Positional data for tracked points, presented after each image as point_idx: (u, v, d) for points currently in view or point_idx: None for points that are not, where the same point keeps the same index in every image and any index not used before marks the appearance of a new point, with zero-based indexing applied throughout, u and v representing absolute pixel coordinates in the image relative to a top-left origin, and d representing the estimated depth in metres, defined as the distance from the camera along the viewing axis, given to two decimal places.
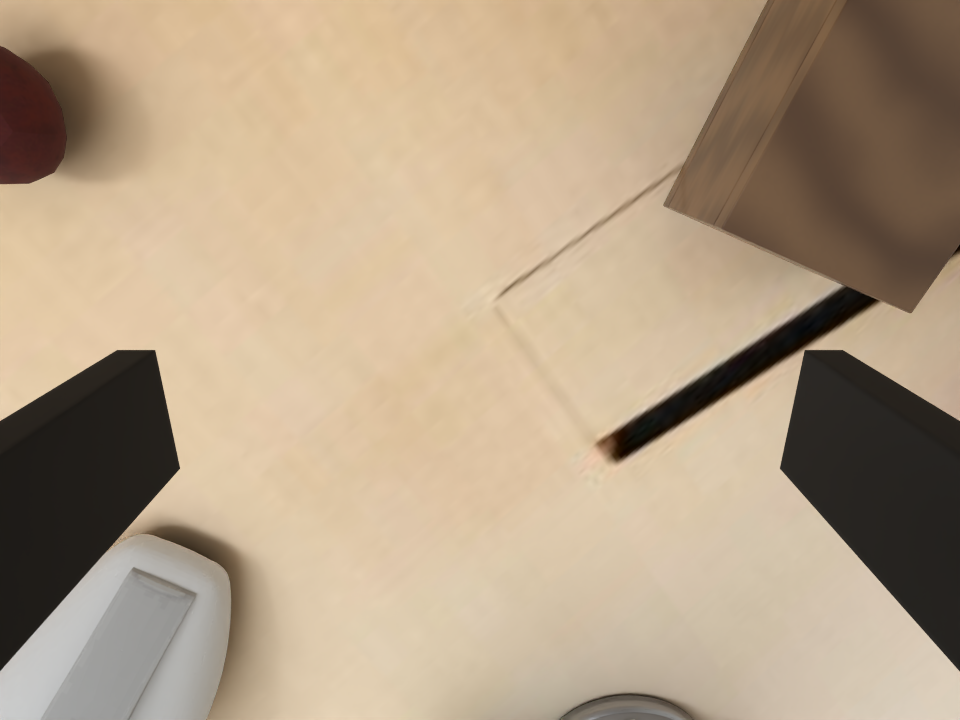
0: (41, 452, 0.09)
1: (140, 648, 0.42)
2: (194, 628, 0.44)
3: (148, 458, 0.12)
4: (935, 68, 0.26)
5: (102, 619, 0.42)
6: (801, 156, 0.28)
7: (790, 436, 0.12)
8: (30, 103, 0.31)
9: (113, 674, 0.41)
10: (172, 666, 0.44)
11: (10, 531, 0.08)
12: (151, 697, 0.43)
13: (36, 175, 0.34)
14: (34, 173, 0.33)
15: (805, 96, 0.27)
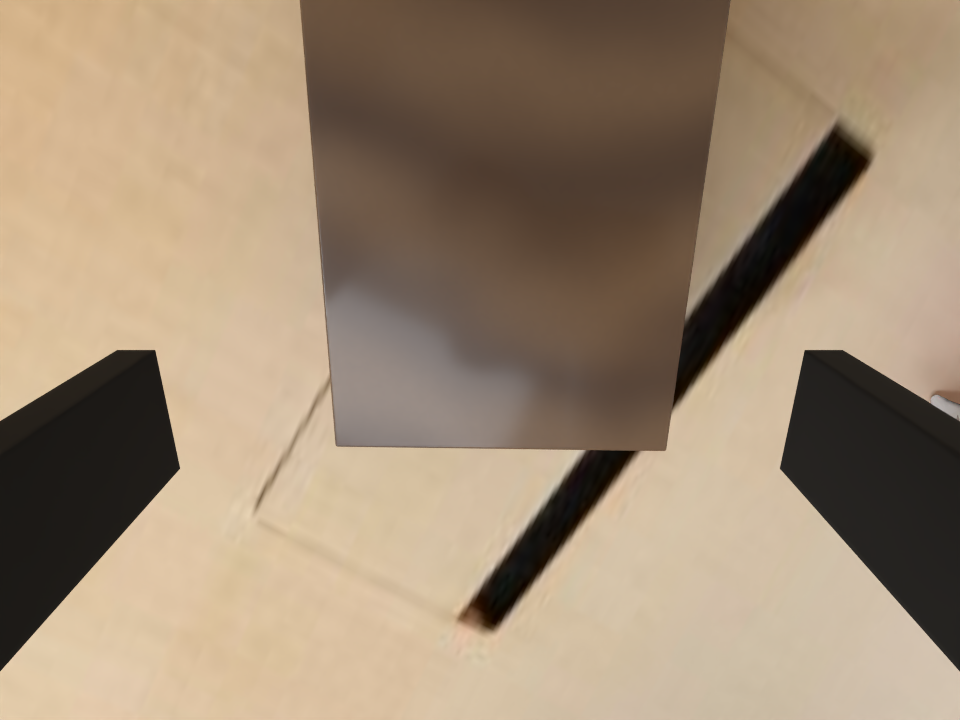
0: (41, 452, 0.09)
1: None
2: None
3: (148, 458, 0.12)
4: (494, 144, 0.17)
5: None
6: (380, 326, 0.19)
7: (790, 436, 0.12)
8: None
9: None
10: None
11: (10, 531, 0.08)
12: None
13: None
14: None
15: (335, 253, 0.18)
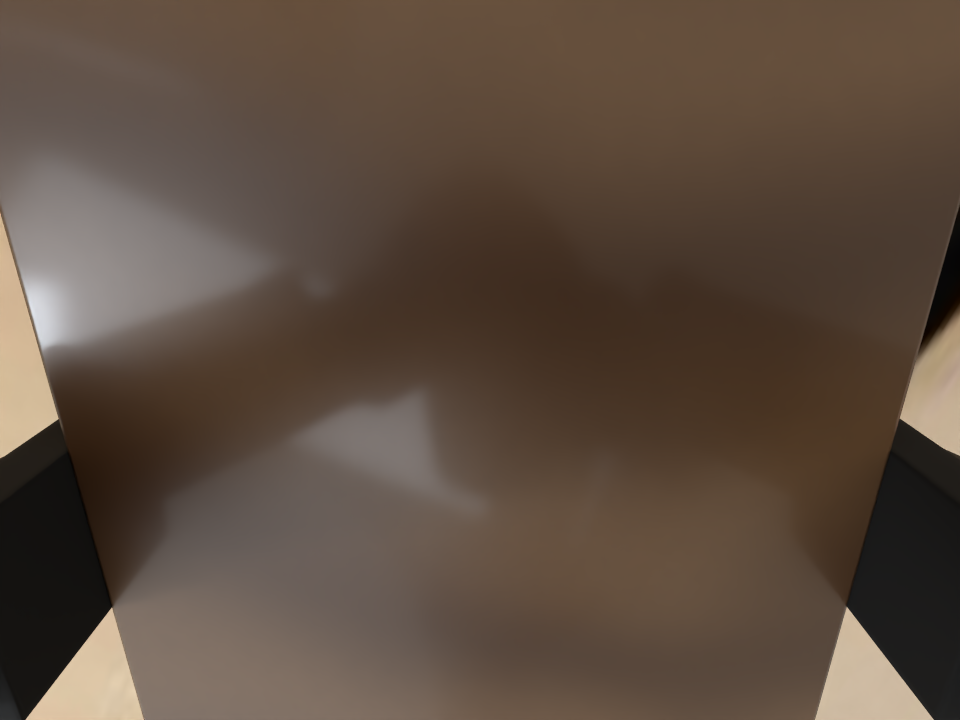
0: None
1: None
2: None
3: None
4: (439, 191, 0.07)
5: None
6: (216, 571, 0.09)
7: None
8: None
9: None
10: None
11: None
12: None
13: None
14: None
15: (96, 435, 0.08)
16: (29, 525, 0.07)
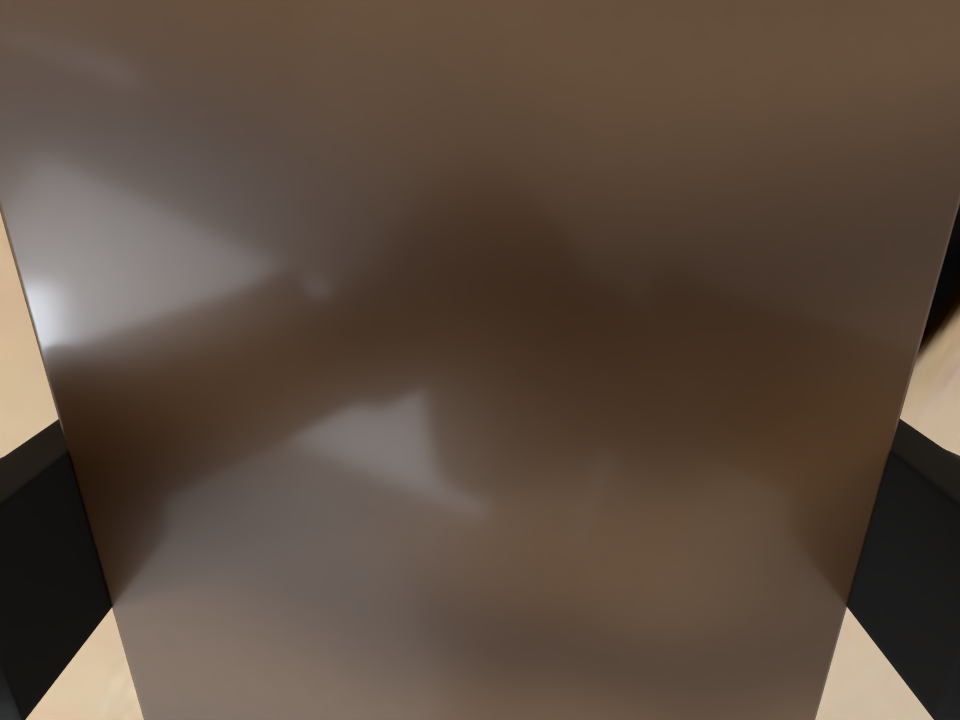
0: None
1: None
2: None
3: None
4: (439, 191, 0.07)
5: None
6: (216, 571, 0.09)
7: None
8: None
9: None
10: None
11: None
12: None
13: None
14: None
15: (96, 435, 0.08)
16: (29, 525, 0.07)
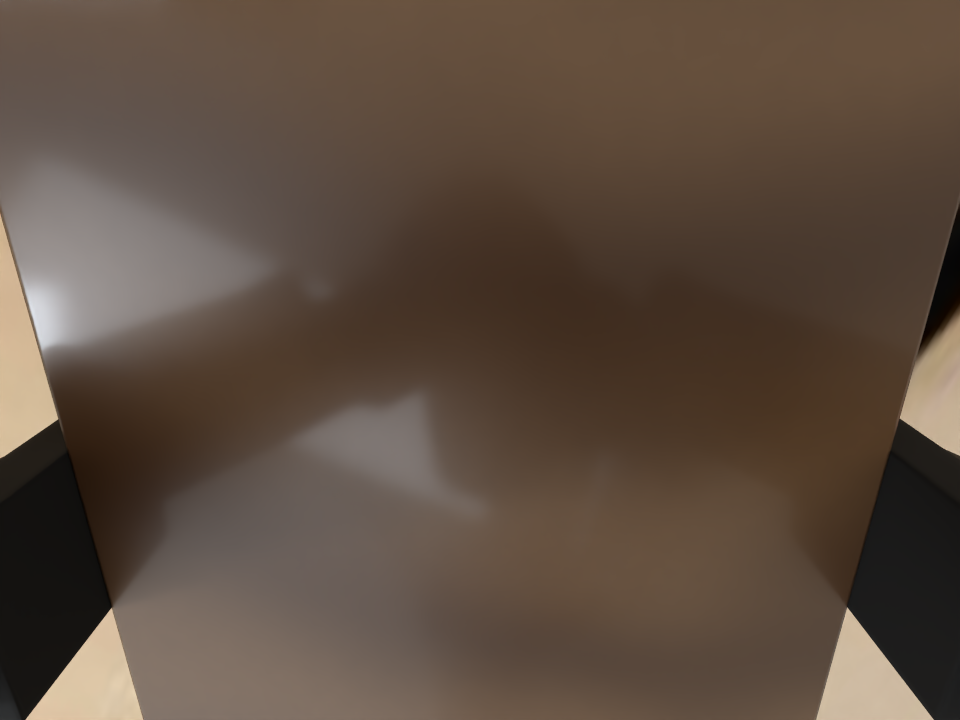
0: None
1: None
2: None
3: None
4: (438, 190, 0.07)
5: None
6: (216, 571, 0.09)
7: None
8: None
9: None
10: None
11: None
12: None
13: None
14: None
15: (96, 435, 0.08)
16: (29, 525, 0.07)
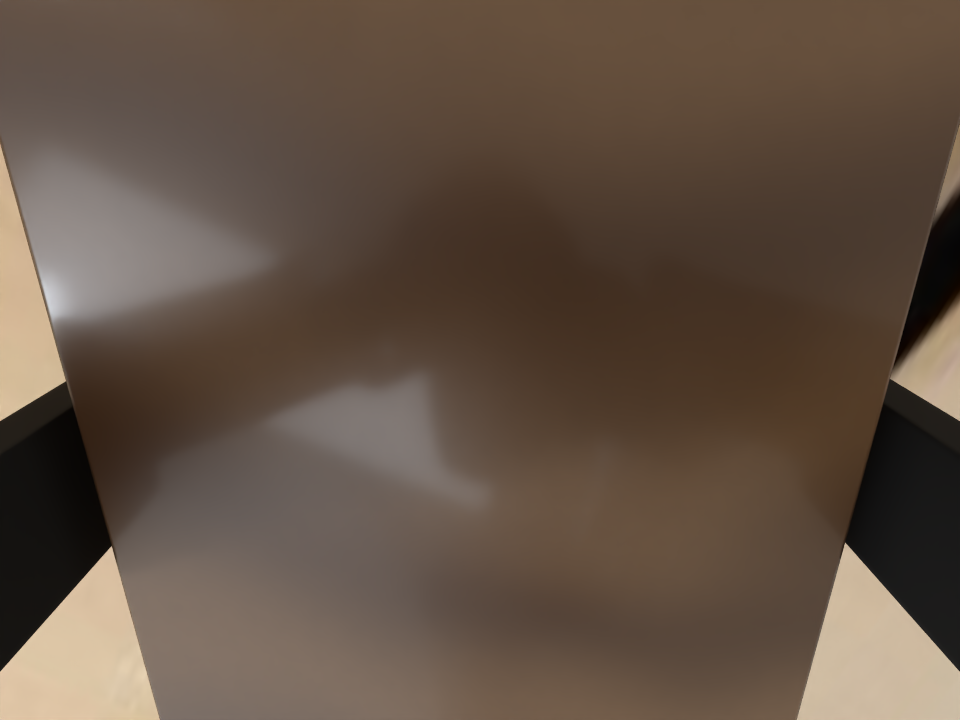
0: (41, 452, 0.09)
1: None
2: None
3: None
4: (437, 163, 0.07)
5: None
6: (221, 538, 0.09)
7: None
8: None
9: None
10: None
11: (10, 531, 0.08)
12: None
13: None
14: None
15: (104, 404, 0.08)
16: None
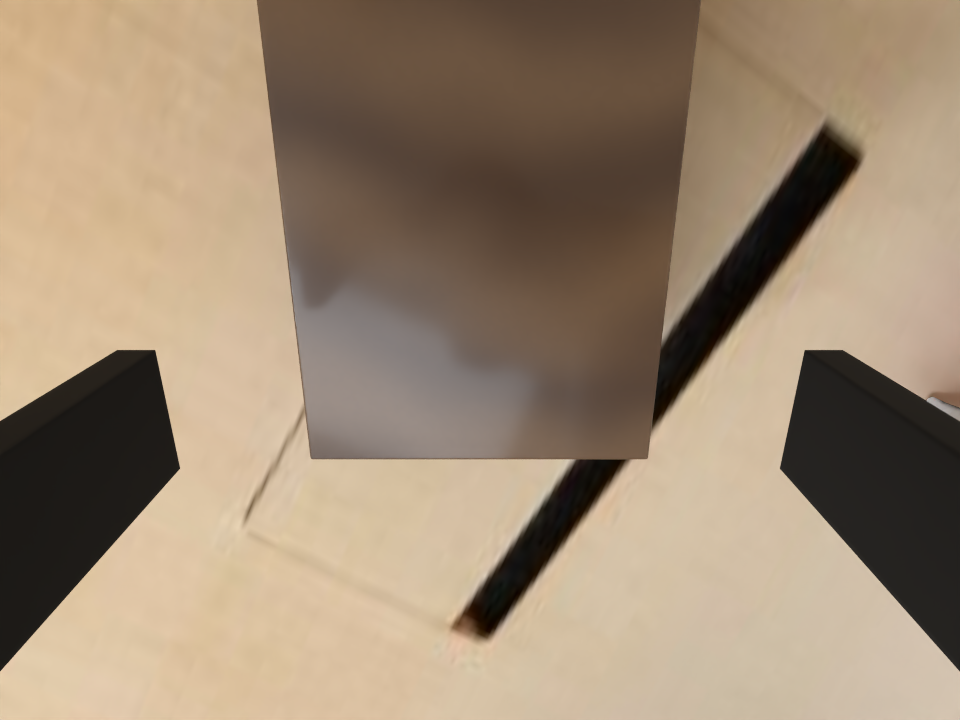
0: (41, 452, 0.09)
1: None
2: None
3: (148, 458, 0.12)
4: (462, 149, 0.16)
5: None
6: (352, 336, 0.18)
7: (790, 436, 0.12)
8: None
9: None
10: None
11: (10, 531, 0.08)
12: None
13: None
14: None
15: (303, 263, 0.17)
16: None
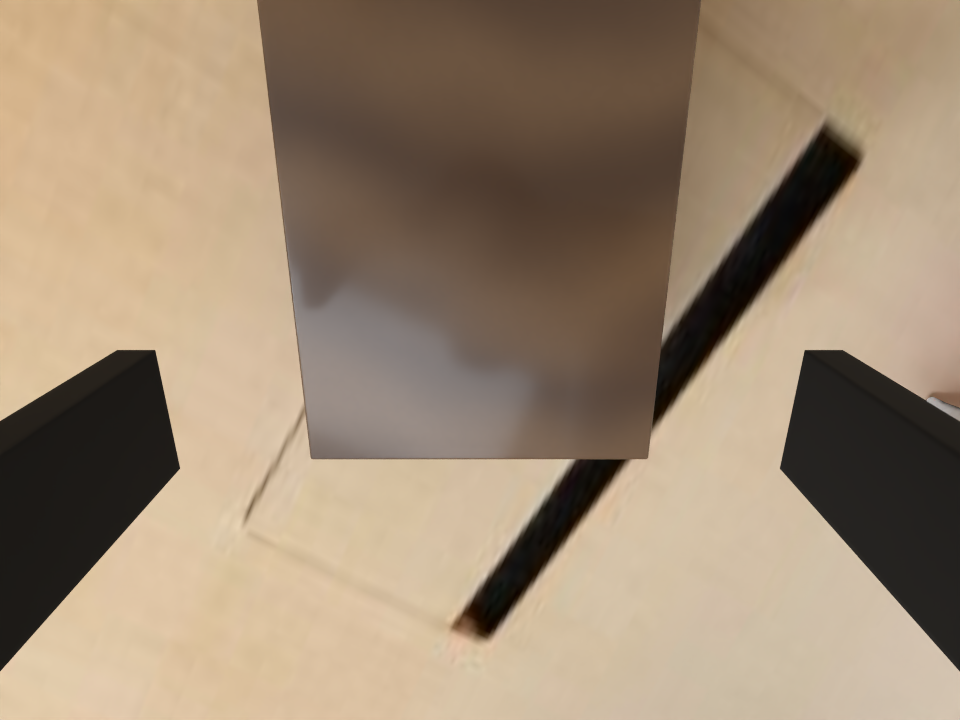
0: (41, 452, 0.09)
1: None
2: None
3: (148, 458, 0.12)
4: (462, 149, 0.16)
5: None
6: (352, 336, 0.18)
7: (790, 436, 0.12)
8: None
9: None
10: None
11: (10, 531, 0.08)
12: None
13: None
14: None
15: (303, 263, 0.17)
16: None
